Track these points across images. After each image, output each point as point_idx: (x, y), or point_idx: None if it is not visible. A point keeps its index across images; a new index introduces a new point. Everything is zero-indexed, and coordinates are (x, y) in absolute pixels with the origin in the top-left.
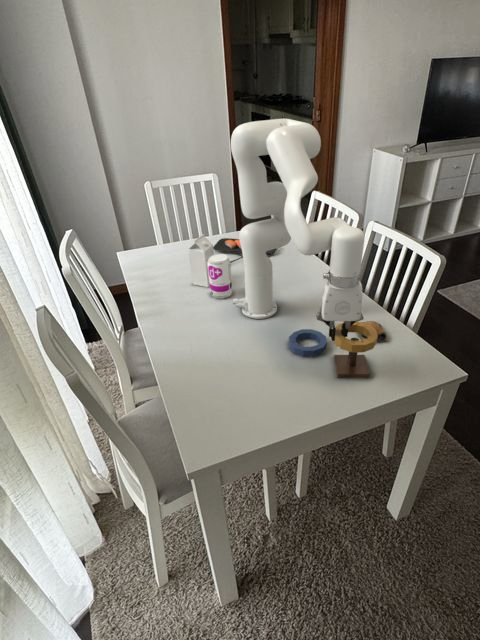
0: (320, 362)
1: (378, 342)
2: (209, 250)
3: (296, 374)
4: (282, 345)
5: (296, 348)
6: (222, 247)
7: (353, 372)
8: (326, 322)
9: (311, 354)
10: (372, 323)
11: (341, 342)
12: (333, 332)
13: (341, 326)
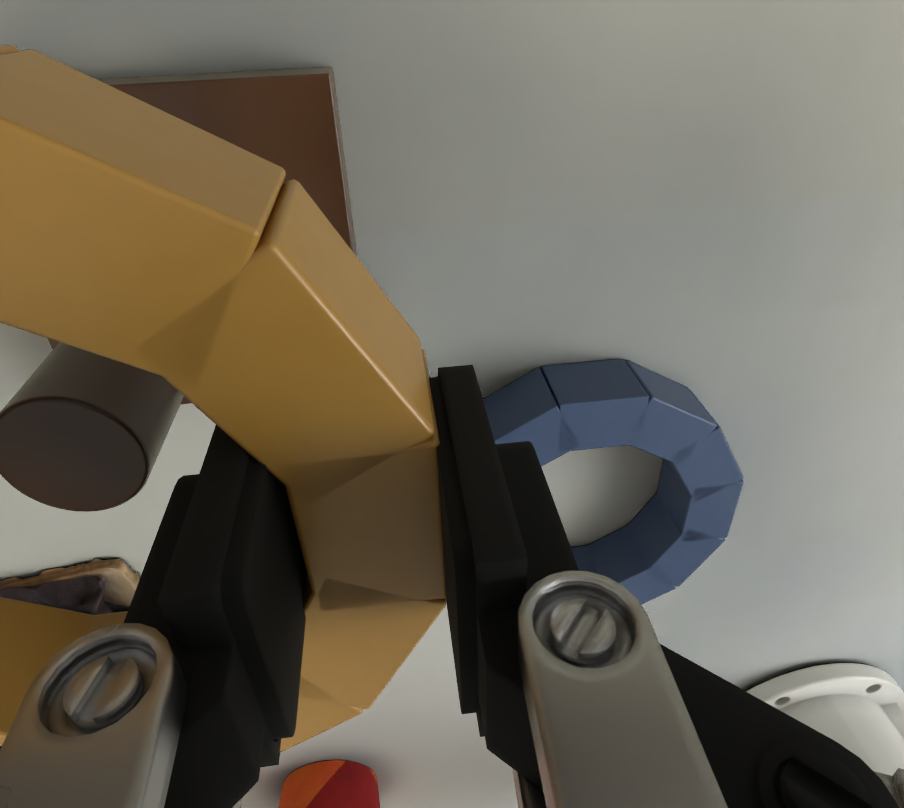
0: (490, 304)
1: (18, 578)
2: None
3: (740, 105)
4: (752, 469)
5: (705, 417)
6: None
7: None
8: (804, 763)
9: (569, 378)
10: None
11: (280, 234)
12: (493, 494)
13: (309, 679)
